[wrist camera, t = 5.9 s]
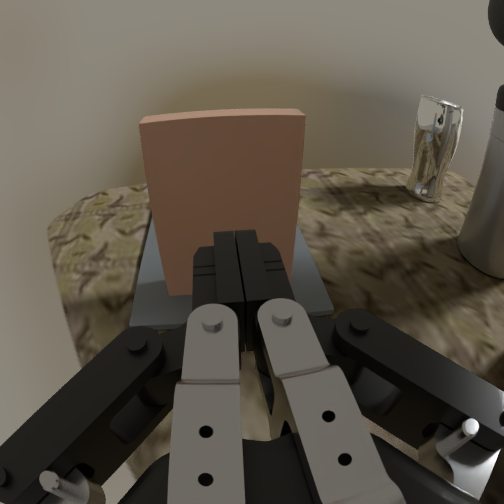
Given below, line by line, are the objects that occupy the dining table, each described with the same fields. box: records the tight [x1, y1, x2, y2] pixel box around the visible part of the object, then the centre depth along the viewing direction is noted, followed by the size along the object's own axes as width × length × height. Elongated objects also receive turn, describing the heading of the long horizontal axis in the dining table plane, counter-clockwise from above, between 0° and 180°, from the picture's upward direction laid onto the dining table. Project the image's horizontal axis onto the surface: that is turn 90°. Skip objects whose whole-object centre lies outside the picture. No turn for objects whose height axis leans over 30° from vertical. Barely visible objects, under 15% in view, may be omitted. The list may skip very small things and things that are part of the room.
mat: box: [129, 217, 334, 330], centre depth 31 cm, size 16×20×1 cm
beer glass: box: [405, 95, 464, 203], centre depth 39 cm, size 7×7×15 cm
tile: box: [139, 109, 306, 296], centre depth 22 cm, size 10×2×14 cm, turn 97°
